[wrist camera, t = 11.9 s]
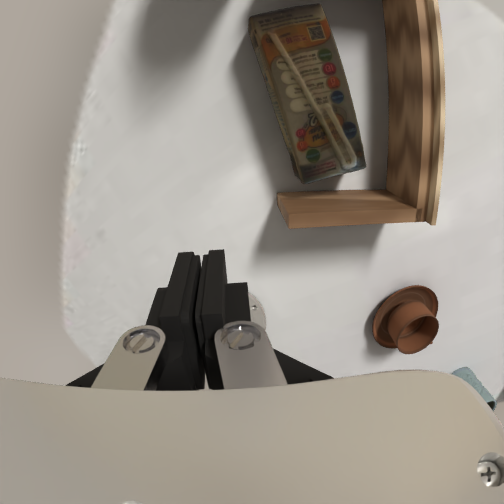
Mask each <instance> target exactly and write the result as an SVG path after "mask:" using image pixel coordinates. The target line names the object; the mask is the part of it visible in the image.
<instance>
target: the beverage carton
mask: <svg viewBox="0 0 504 504" xmlns="http://www.w3.org/2000/svg"><path fill="white" fill-rule="evenodd" d="M248 23H249V24H248V31H249V35H250V38H251V41H252V44H253V47H254V50H255V53H256V56H257V59H258V62H259V65H260V68H261V71H262V74H263V77H264V80H265V82H266V86H267V89H268V92H269V95H270V98H271V101H272V104H273V107H274V111H275V114H276V117H277V120H278V123H279V125H280V128H281V131H282V134H283V137H284V140H285V143H286V146H287V149H288V151H289V153H290V157H291V161H292V165H293V170H294V173H295V176H297V178H298V179H300V181H301V182H302V183H303V184H307V183H311V182H315V181H318V180H322V179H325V178H328V177H332V176H336V175H340V174H345V173H349V172H353V171H357V170H361V169H364V168H366V162H365V157H364V151H363V145H362V141H361V136H360V131H359V127H358V123H357V119H356V114H355V110H354V106H353V102H352V98H351V94H350V90H349V86H348V83H347V79H346V76H345V72H344V69H343V65H342V62H341V59H340V56H339V53H338V49H337V46H336V43H335V40H334V38H333V35H332V32H331V29H330V26H329V24H328V21H327V18H326V16H325V13H324V11H323V8H322V6H321V4H310V5H303V6H296V7H290V8H285V9H280V10H276V11H271V12H267V13H262V14H258V15H254V16H251V17H250V18H249V22H248Z"/></svg>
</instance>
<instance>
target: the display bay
mask: <svg viewBox="0 0 504 504" xmlns="http://www.w3.org/2000/svg"><path fill="white" fill-rule="evenodd" d="M382 3H383V12H384V21H385V33H386V46H387V62H388V90H389V135H388V164H387V182H386V189H385V190H333V191H305V192H284V193H277V205H278V207H279V209H280V211H281V213H282V215H283V218H284V220H285V222H286V224H287V226H288V228H289V229H293V228H309V227H326V226H344V225H362V224H382V223H403V222H425V221H426V222H427V223H429V224H430V225H436V219H437V212H438V204H439V196H440V187H441V178H442V166H443V153H444V134H445V72H444V54H443V41H442V30H441V21H440V13H439V6H438V0H382Z"/></svg>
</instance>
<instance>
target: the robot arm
mask: <svg viewBox="0 0 504 504" xmlns="http://www.w3.org/2000/svg"><path fill="white" fill-rule="evenodd" d="M265 330H266V318H265V313H264V310H263V308H262V306H261V304H260V302H259V301H258V300H257V299H256V298H255V297H254V296H253V295H251V294H250V293H249V292H248V286H247V282H244V283H230V284H227V274H226V263H225V253H224V249H223V250H209V254H208V255H203V261H202V268H201V262H200V256H199V255H194V252H182V253H178V255H177V258H176V262H175V265H174V268H173V271H172V275H171V278H170V281H169V284H168V287H166V288H158V290H157V292H156V295H155V298H154V301H153V304H152V307H151V310H150V313H149V316H148V319H147V322H146V325H145V326H138V327H134V328H132V329H130V330H128V331H127V332H125V333H124V334H123V335H122V336H121V337H120V338H119V340H118V342H117V343H116V345H115V347H114V348H113V350H112V352H111V354H110V355H109V357H108V359H107V360H106V362H105V363H104V364H103V365H101V366H99V367H97V368H95V369H94V370H92V371H90V372H88V373H87V374H85V375H83V376H82V377H80V378H78V379H76V380H74V381H72V382H71V383H69V384H67V385H66V386H63V385H53V384H44V383H36V382H29V381H23V380H14V379H5V378H0V504H504V427H503V425H502V424H501V422H500V421H499V419H498V418H497V416H496V415H495V414H494V412H493V411H492V409H491V408H490V406H489V405H488V404H487V403H486V401H485V400H484V399H483V398H482V397H481V395H480V394H479V393H478V392H477V391H476V390H475V389H474V388H473V387H472V386H471V385H470V384H468V383H467V382H466V381H464V380H463V379H462V378H460V377H457V376H455V375H452V374H448V373H444V372H439V371H429V370H395V371H385V372H377V373H370V374H364V375H357V376H350V377H342V378H335V379H334V378H333V377H331V376H329V375H327V374H325V373H322V372H320V371H318V370H316V369H314V368H312V367H310V366H308V365H306V364H303V363H301V362H299V361H297V360H295V359H293V358H291V357H289V356H287V355H285V354H283V353H281V352H279V351H277V350H275V349H273V348H272V345H271V343H270V341H269V338H268V336H267V333H266V331H265Z"/></svg>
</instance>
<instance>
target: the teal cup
mask: <svg viewBox="0 0 504 504" xmlns="http://www.w3.org/2000/svg"><path fill="white" fill-rule="evenodd" d="M452 375H455V376H457V377H460V378H462V379H463V380H464V381H466V382H467V383H468V384H470V385H471V386H472V387H473V388H474V389H475V390H476V391H477V392H478V393H479V394H480V395H481V397H482V398H483V399H484V400H485V401H486V403H487V404H488V405H489V406H490V408H491V409H492V411H494V410H495V408H496V405H497V402H496V400H495V399H494V398H493V397H492V395H491V394H490V393H489V392H488V391H487V389H486V388H485V387H484V386H482V384H481V382H480V381H479V380H478V379H477V378H476V376H475V374H474V373H473V372H472V371H471V370H470V369H469V368H468V367H463V368H460V369H458V370H456V371H454V372H453V373H452Z"/></svg>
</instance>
